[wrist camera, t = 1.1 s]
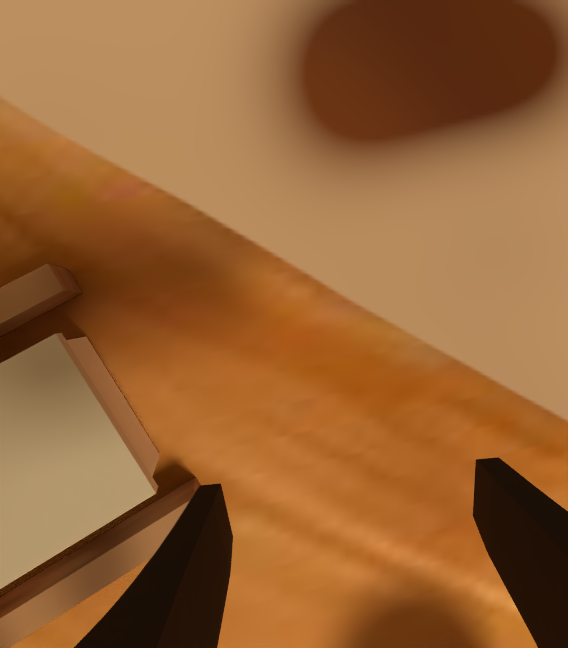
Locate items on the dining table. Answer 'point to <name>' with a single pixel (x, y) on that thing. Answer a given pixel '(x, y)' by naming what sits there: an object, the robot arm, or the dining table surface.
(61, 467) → the beige square block
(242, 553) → the dining table surface
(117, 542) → the bay
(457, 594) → the dining table surface
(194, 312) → the dining table surface
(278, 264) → the dining table surface
